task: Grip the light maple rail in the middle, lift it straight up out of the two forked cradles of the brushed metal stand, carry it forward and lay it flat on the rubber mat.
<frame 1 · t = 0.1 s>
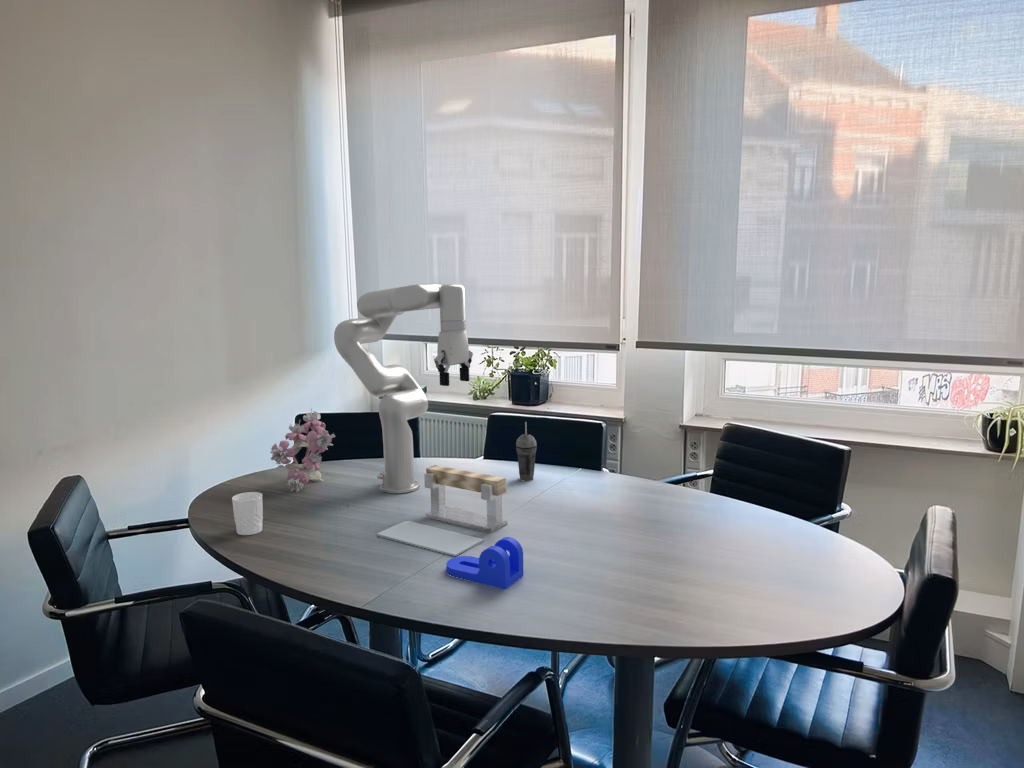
hand: (454, 383, 218), 37 cm above the table, tool pointing down, fingers open, 9 cm apart
mat: (429, 538, 193), on the table
white cup: (249, 531, 201), on the table
bracket: (481, 576, 171), on the table
rail stand: (466, 520, 206), on the table
rail: (465, 486, 205), point 10 cm above the table, touching rail stand
flower: (303, 486, 241), on the table
beverage cup: (526, 479, 246), on the table
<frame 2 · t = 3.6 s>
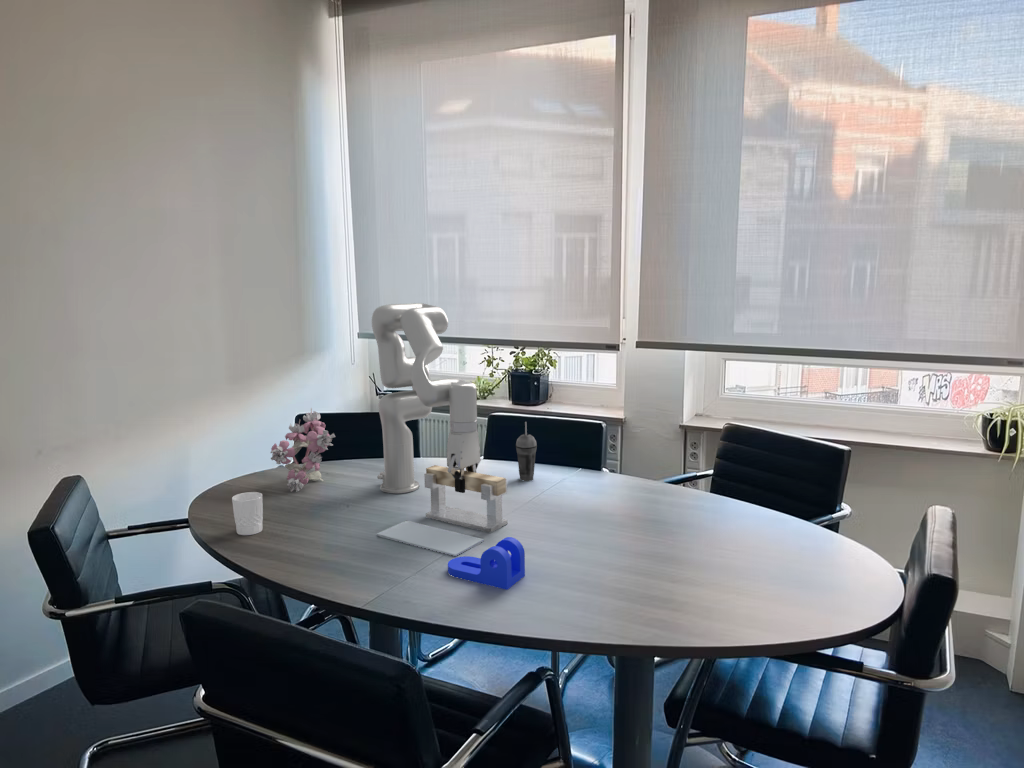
hand: (465, 489, 205), 9 cm above the table, tool pointing down, fingers closed on rail, 4 cm apart
rail: (465, 486, 205), point 10 cm above the table, touching gripper, rail stand
everything else where it was.
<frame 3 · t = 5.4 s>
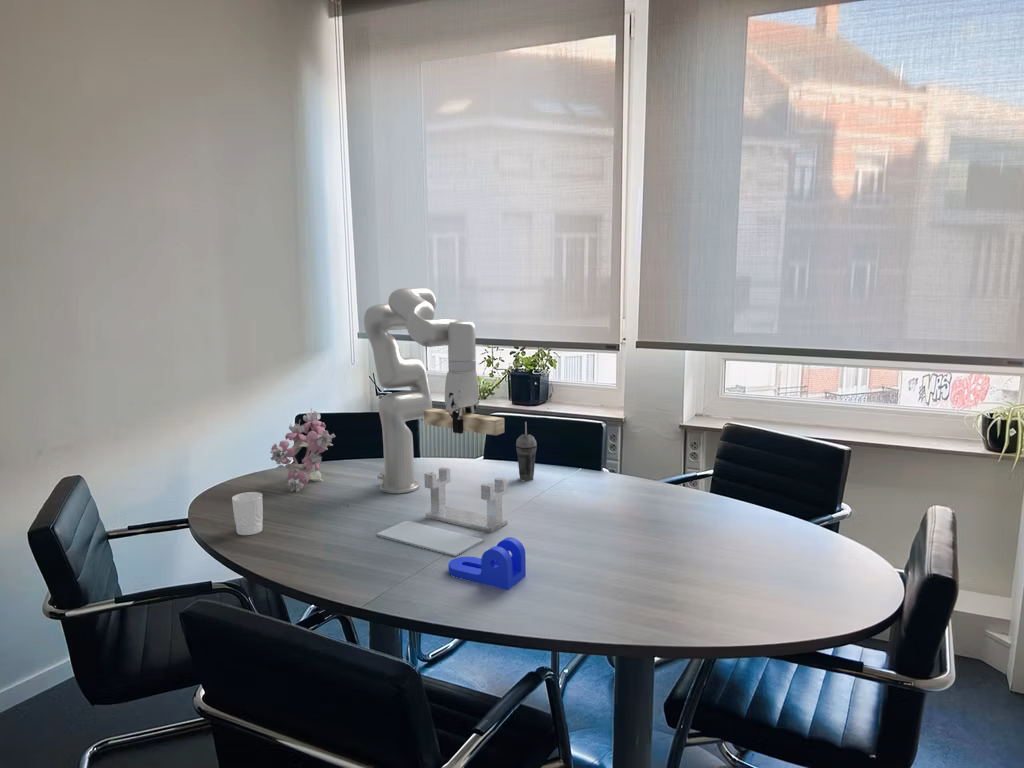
hand: (463, 430, 202), 26 cm above the table, tool pointing down, fingers closed on rail, 4 cm apart
rail: (463, 428, 202), point 27 cm above the table, touching gripper
everything else where it was.
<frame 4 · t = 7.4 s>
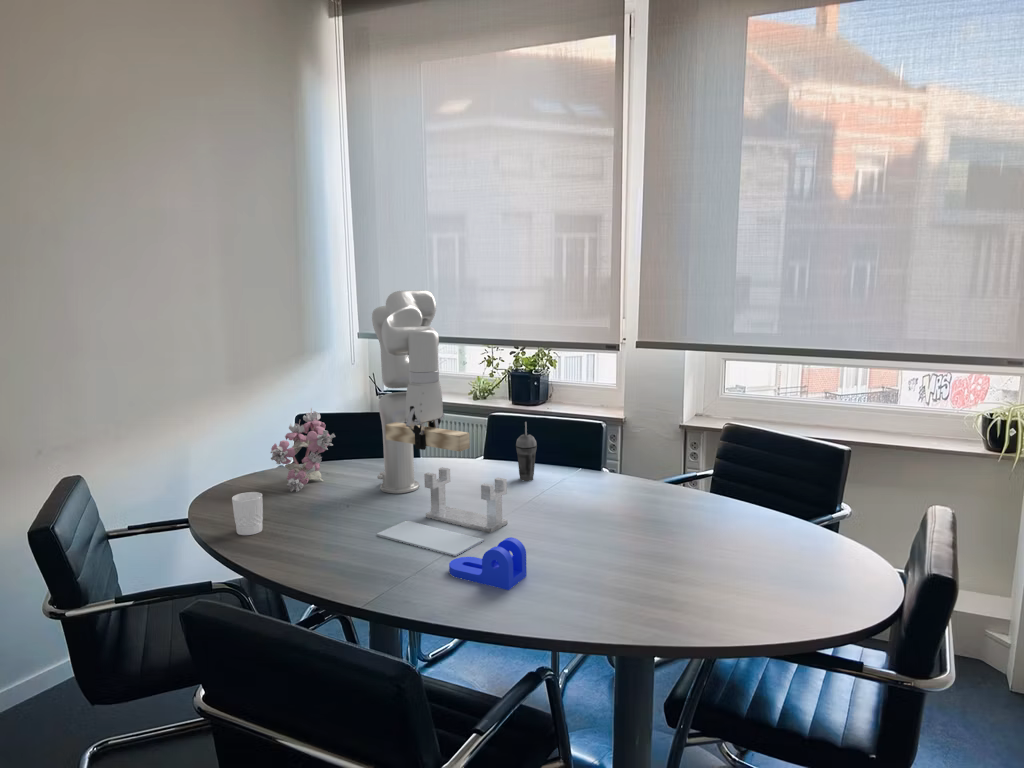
hand: (426, 446, 189), 25 cm above the table, tool pointing down, fingers closed on rail, 4 cm apart
rail: (426, 443, 189), point 26 cm above the table, touching gripper
everything else where it was.
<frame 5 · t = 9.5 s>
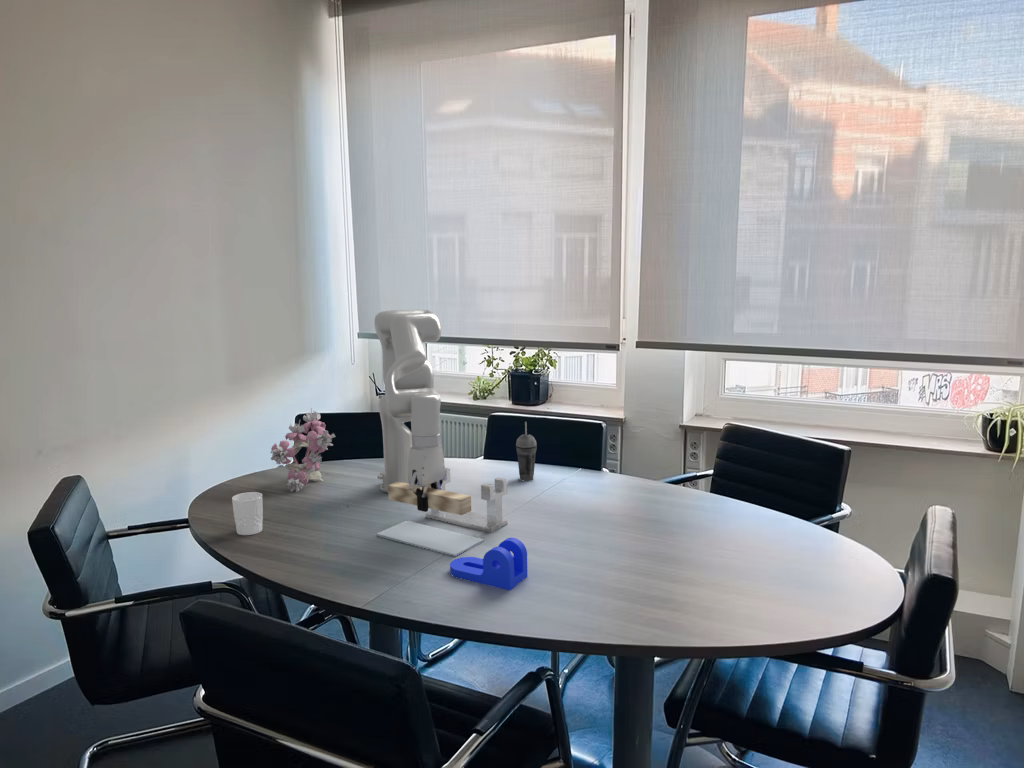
hand: (428, 507, 192), 9 cm above the table, tool pointing down, fingers closed on rail, 4 cm apart
rail: (428, 505, 192), point 9 cm above the table, touching gripper
when the fingers open (2 cm above the table, at t = 11.4 s): rail drops 2 cm, resting on mat.
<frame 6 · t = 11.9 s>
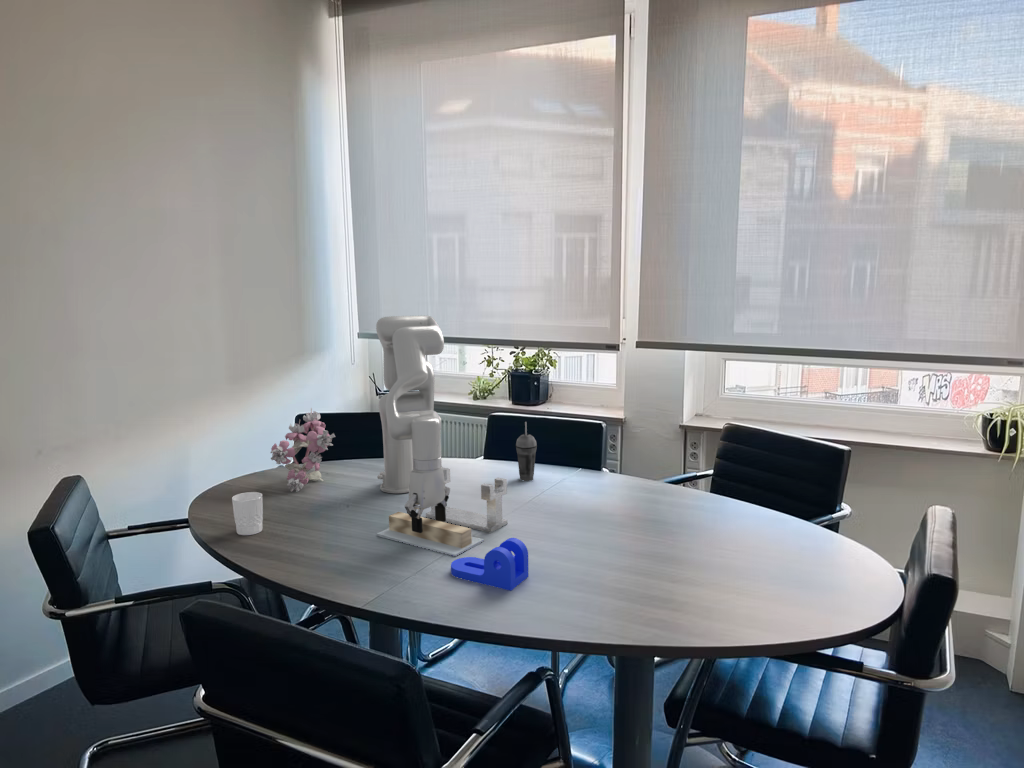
hand: (429, 526, 193), 3 cm above the table, tool pointing down, fingers open, 9 cm apart
rail: (429, 536, 193), point 1 cm above the table, touching mat
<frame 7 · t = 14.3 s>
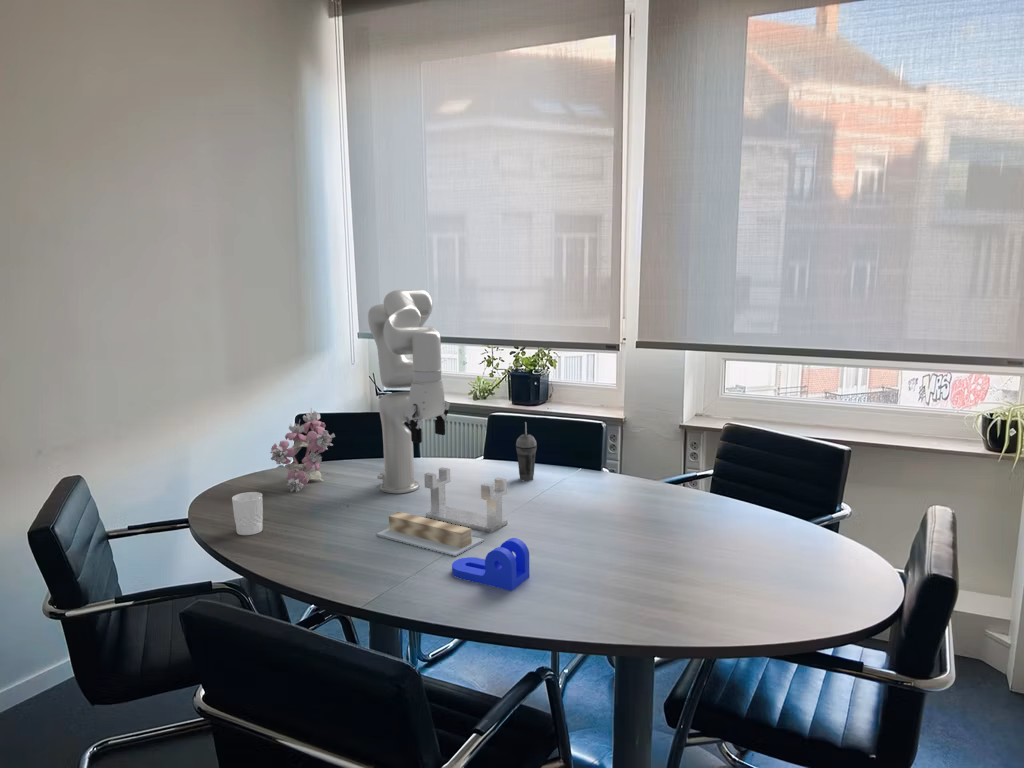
hand: (428, 438, 198), 25 cm above the table, tool pointing down, fingers open, 9 cm apart
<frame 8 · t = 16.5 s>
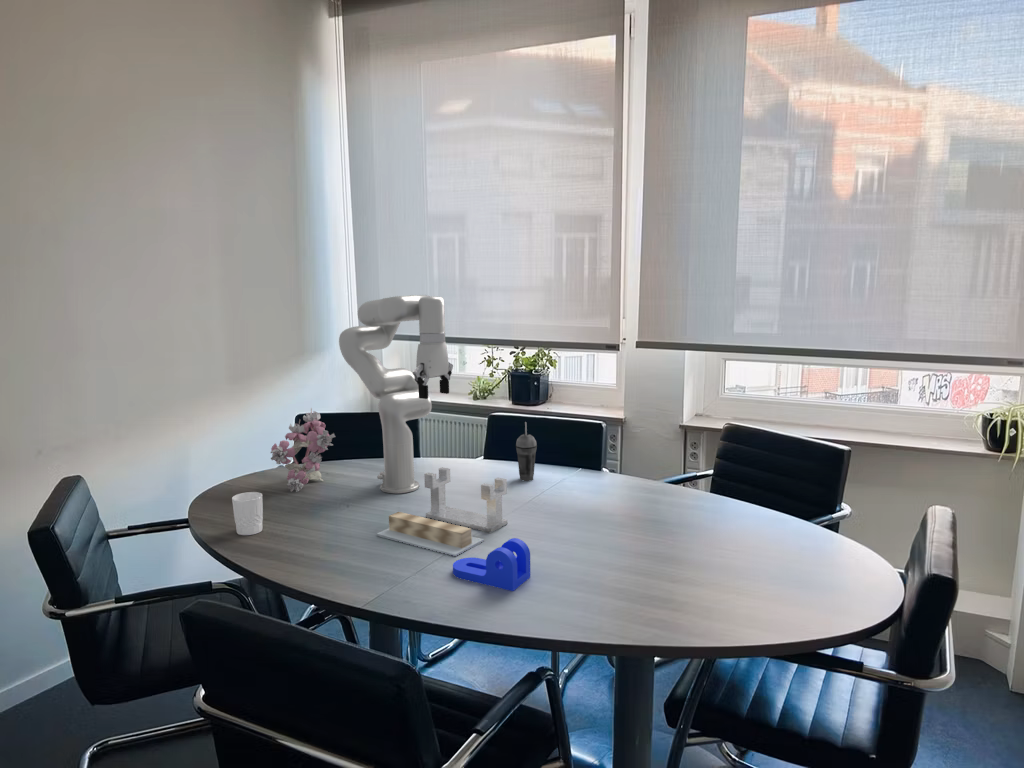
hand: (434, 395, 217), 33 cm above the table, tool pointing down, fingers open, 9 cm apart
at the end: rail inside the target area on the mat (0.0 cm from its centre), point 0.6 cm above the mat's base; rail touching mat; the gripper is holding nothing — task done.
